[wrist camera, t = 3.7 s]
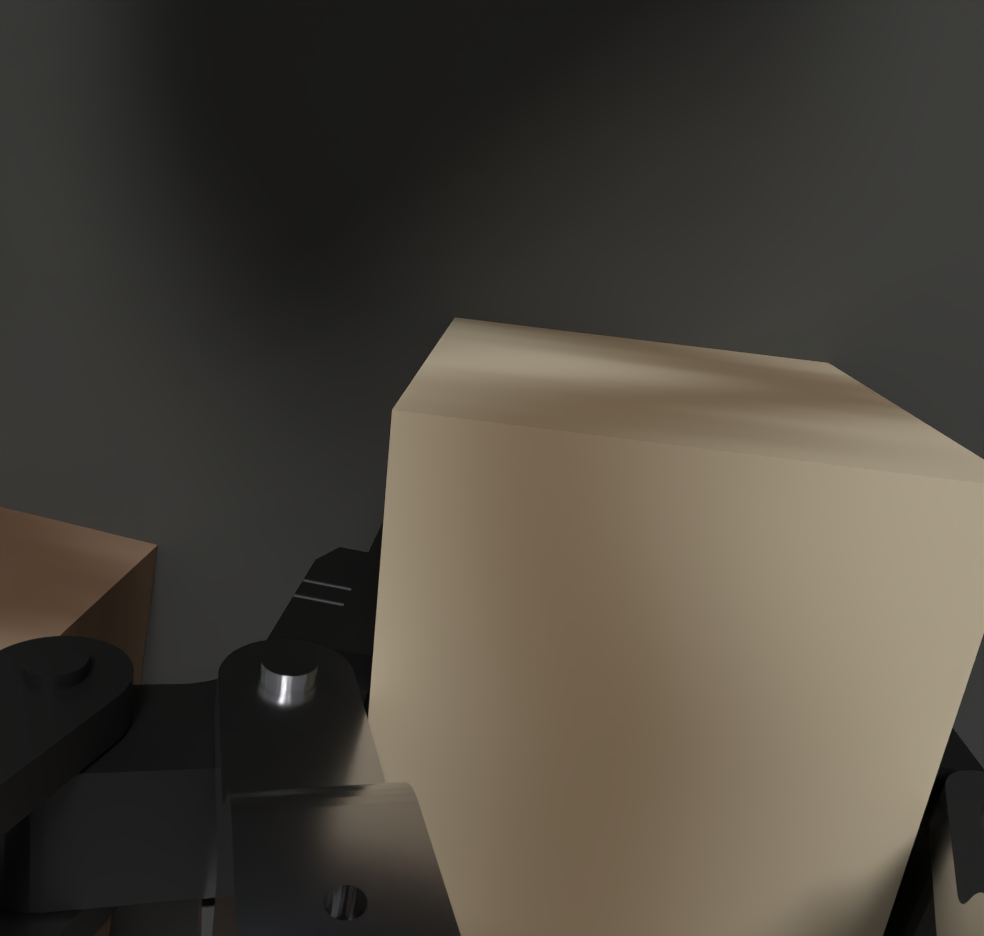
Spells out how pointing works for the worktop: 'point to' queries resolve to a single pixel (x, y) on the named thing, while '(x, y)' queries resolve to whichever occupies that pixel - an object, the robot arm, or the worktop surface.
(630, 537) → the birch brick
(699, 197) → the worktop surface
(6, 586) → the walnut brick
